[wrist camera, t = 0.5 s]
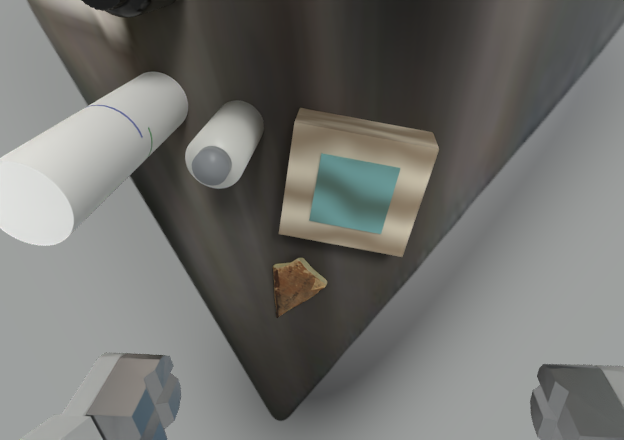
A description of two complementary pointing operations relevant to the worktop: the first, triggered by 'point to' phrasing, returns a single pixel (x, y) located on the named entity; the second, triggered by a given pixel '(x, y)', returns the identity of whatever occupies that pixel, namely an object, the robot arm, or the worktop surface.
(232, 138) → the white bottle
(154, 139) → the cylindrical container
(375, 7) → the worktop surface
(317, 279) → the shard
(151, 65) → the worktop surface
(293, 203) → the birch plinth
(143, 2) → the supplement bottle
